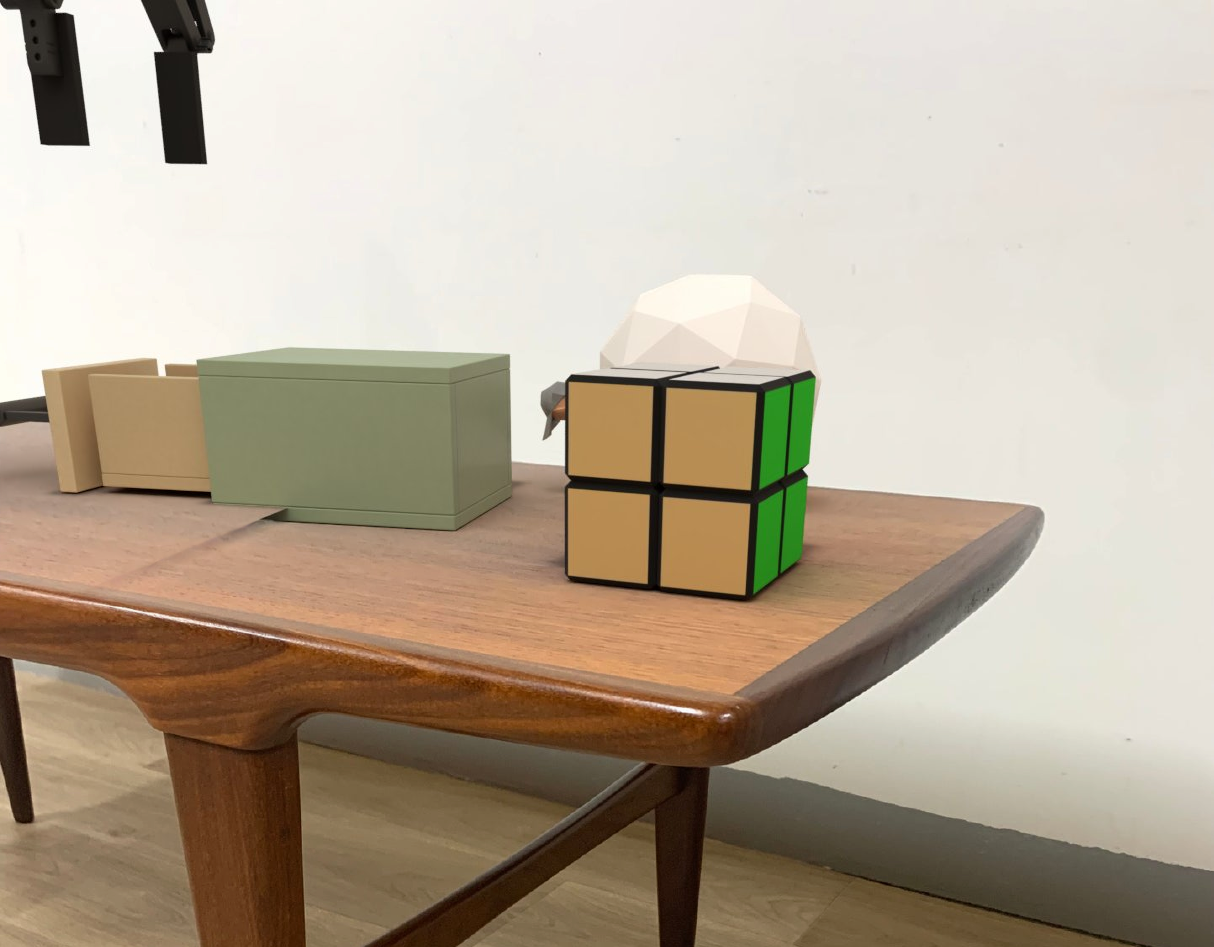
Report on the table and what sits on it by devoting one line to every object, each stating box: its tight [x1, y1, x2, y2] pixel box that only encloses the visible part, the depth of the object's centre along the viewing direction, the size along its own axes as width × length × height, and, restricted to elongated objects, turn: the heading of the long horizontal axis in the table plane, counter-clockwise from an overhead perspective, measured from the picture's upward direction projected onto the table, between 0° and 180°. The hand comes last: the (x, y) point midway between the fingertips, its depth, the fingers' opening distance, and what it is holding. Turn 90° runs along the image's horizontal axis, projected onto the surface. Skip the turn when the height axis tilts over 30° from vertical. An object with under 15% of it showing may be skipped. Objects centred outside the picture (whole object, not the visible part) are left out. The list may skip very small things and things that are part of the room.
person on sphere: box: [540, 273, 822, 441], centre depth 84 cm, size 14×15×20 cm
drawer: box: [0, 357, 211, 494], centre depth 83 cm, size 21×12×7 cm, turn 78°
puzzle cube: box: [564, 362, 816, 601], centre depth 64 cm, size 10×10×10 cm
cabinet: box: [195, 346, 513, 532], centre depth 80 cm, size 16×13×9 cm
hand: (130, 156), depth 79 cm, fingers open, 13 cm apart
